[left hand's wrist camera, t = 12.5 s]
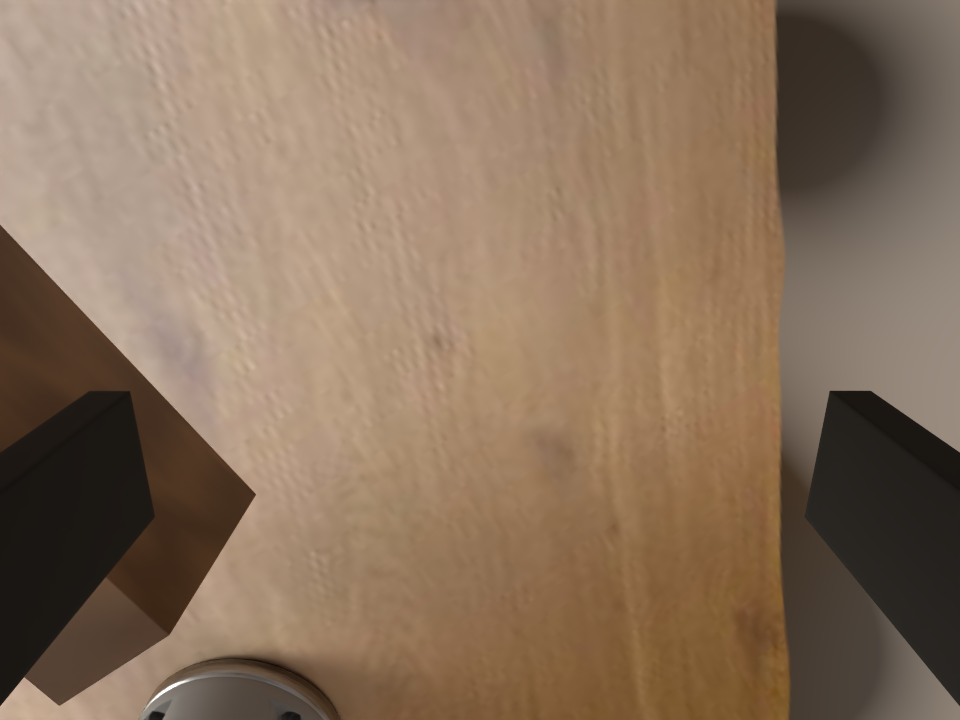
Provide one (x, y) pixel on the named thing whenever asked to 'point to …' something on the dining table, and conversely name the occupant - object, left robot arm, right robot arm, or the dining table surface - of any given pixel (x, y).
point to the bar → (169, 466)
